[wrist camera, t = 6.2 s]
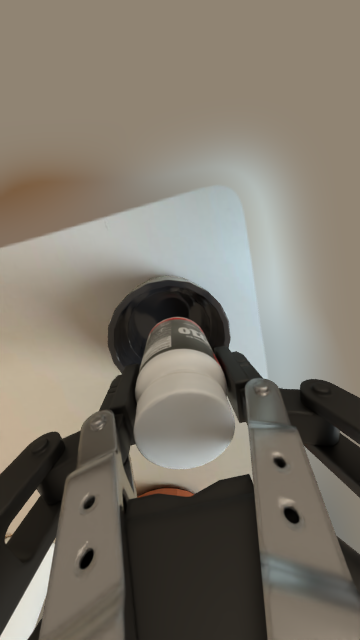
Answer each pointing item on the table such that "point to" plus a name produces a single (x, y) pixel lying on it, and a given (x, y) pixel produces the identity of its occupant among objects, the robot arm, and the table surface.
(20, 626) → the mug
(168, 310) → the front bowl
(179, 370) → the pill bottle
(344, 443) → the robot arm
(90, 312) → the table surface
